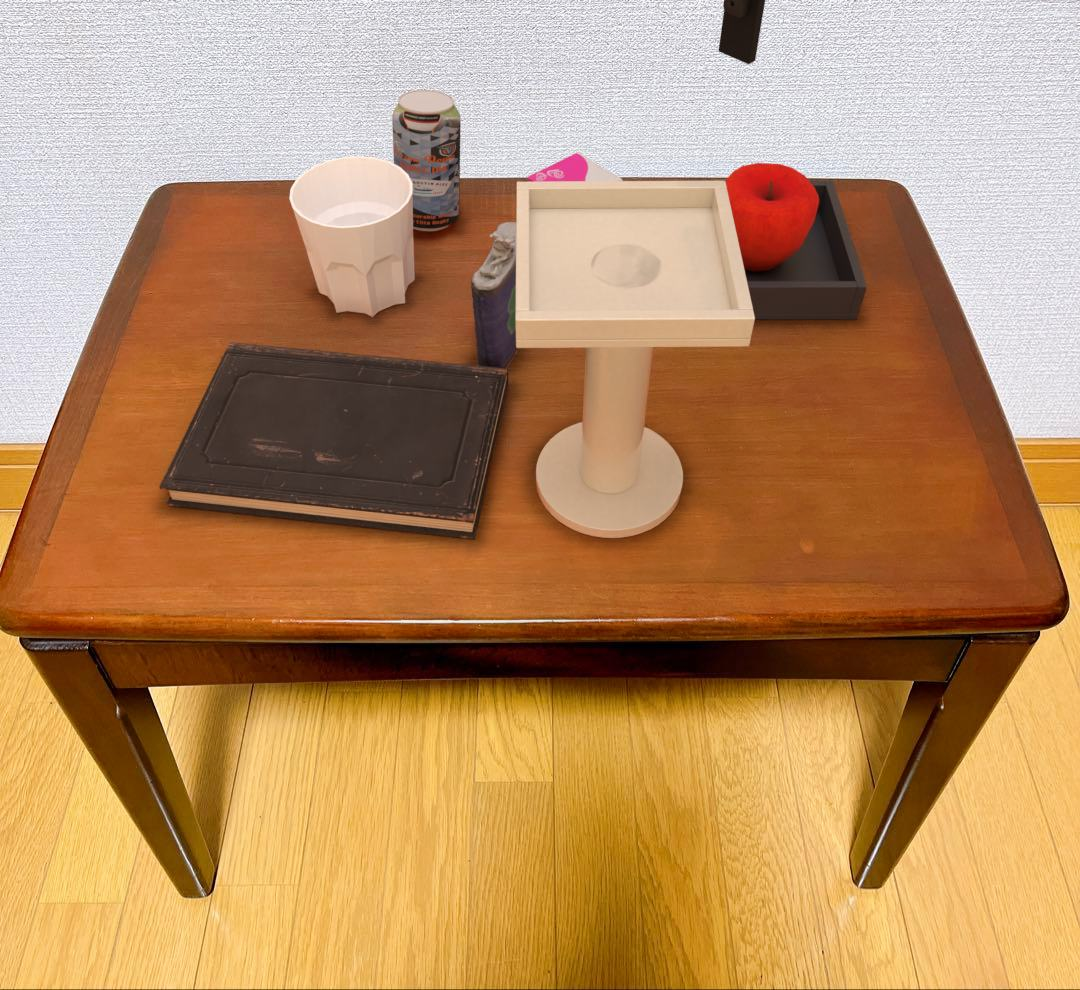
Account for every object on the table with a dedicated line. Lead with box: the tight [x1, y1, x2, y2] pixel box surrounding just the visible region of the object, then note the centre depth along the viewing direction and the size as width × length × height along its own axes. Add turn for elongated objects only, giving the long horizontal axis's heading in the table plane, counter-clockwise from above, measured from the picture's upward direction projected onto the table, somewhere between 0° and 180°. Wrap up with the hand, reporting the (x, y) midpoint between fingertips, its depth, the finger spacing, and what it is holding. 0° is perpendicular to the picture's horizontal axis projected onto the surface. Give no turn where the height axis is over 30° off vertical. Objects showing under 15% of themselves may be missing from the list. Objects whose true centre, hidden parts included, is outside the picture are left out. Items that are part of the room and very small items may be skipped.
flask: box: [470, 221, 520, 369], centre depth 82 cm, size 9×3×11 cm, turn 165°
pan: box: [745, 179, 868, 321], centre depth 91 cm, size 16×16×4 cm
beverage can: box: [391, 89, 461, 232], centre depth 93 cm, size 6×7×12 cm
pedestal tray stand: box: [515, 180, 755, 539], centre depth 68 cm, size 13×13×22 cm
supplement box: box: [526, 151, 624, 182], centre depth 86 cm, size 6×6×12 cm
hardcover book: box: [158, 341, 509, 540], centre depth 78 cm, size 16×23×2 cm
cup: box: [289, 155, 416, 318], centre depth 87 cm, size 10×10×10 cm
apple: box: [724, 162, 819, 272], centre depth 89 cm, size 9×9×8 cm
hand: (792, 24), depth 75 cm, fingers open, 13 cm apart
